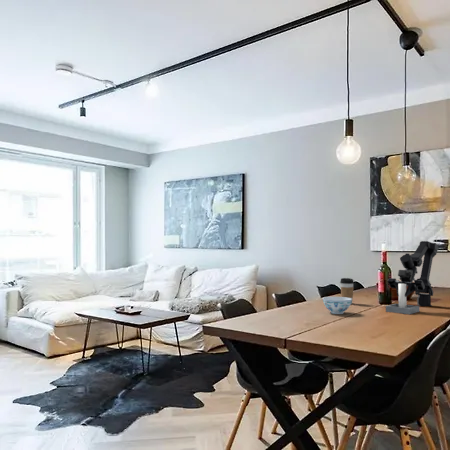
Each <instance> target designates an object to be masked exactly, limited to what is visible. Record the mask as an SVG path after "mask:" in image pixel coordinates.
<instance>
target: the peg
mask: <svg viewBox="0 0 450 450" xmlns="http://www.w3.org/2000/svg"><path fill="white" fill-rule="evenodd" d="M406 291H407V286H406V284H398V295H399V296H398V304H399V307H401V308H407V305H408V304H407V302H408V301H407V297H405V293H406Z"/></svg>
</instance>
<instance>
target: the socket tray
mask: <svg viewBox="0 0 450 450" xmlns="http://www.w3.org/2000/svg"><path fill="white" fill-rule="evenodd" d="M385 312H387V313H395V314H404V315H412V314H416V313H420V306H419V305H413V304H407V308H401V307H399V303H393V304H389V305H385Z"/></svg>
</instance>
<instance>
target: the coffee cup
mask: <svg viewBox="0 0 450 450" xmlns="http://www.w3.org/2000/svg"><path fill="white" fill-rule="evenodd" d="M339 283H340V294H341V296H340V297H347V298H351V299H352V301H351V304H350V305H353V299H354V298H353V297H354V288H355V287H354V284H355V281H354V279H353V278H351V277H350V278H348V277H347V278H346V277H343V278H340V282H339Z"/></svg>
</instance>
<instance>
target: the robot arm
mask: <svg viewBox="0 0 450 450" xmlns="http://www.w3.org/2000/svg"><path fill="white" fill-rule="evenodd" d="M438 251H439V244H437V243H436V242H431V241H429V240H428V241H427V240H421V241H420V242H419V245H418V246H417V248H416V250H414V253H411V254H410V253H409V252H408V253H404V255H401V256H400V257H399V260H400V263H401V265H402V267H403V268H404V269H399V270H398V273H397V276H398V277H399V278H398V279H397V278H396V277H395V278H393V277H392V278H390V277H389V278H388V279H387V281H386V282H387V283H388V285H389V288H391V289H396V296H397V297H399V295H398V284H406V293H405V297H406V298H407V297H408V296H409V295H411V294H412V293H415V295H417V297H416V298H417V299H416V301H417V302H416V306H419V307H432V306H433V305H432V297H433V296H434V290H433V288H432V283H431V281H430V275H431V269H432V265H433V259H434V257H435V256H436V255H437V253H438ZM422 258H423V259H422ZM417 267H419V268H420V267H421V272H420V276H419V277H418V278H417V279H415V276H416V274H418V268H417Z"/></svg>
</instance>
